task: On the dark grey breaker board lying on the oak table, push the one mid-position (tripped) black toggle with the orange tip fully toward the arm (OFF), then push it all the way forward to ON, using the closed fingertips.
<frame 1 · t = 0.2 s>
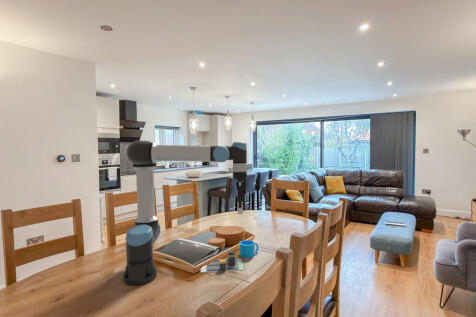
hand: (240, 210, 141), 27 cm above the table, fingers open, 13 cm apart
panel: (222, 267, 134), on the table
breaker tripped: (222, 264, 129), point 4 cm above the table, slide at 0.0 cm
mug: (249, 256, 148), on the table
breaker 2: (232, 259, 135), point 4 cm above the table, slide at 5.0 cm
breaker 3: (231, 255, 139), point 4 cm above the table, slide at 5.0 cm
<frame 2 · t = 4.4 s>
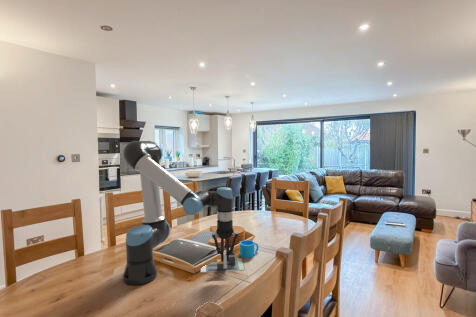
hand: (224, 266, 129), 3 cm above the table, fingers closed
breaker tripped: (220, 264, 129), point 4 cm above the table, slide at -1.1 cm, touching gripper
everything else where it was.
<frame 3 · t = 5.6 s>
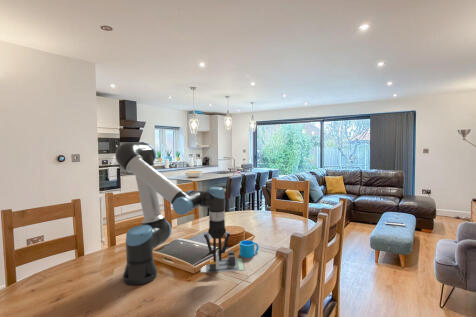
hand: (217, 266, 129), 3 cm above the table, fingers closed
breaker tripped: (212, 265, 128), point 4 cm above the table, slide at -4.8 cm, touching gripper
everything else where it was.
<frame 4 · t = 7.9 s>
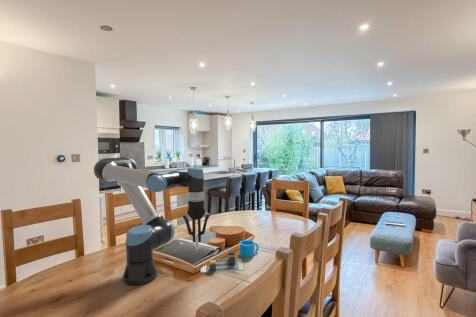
hand: (197, 248, 127), 13 cm above the table, fingers closed
breaker tripped: (212, 265, 128), point 4 cm above the table, slide at -4.8 cm
everything else where it was.
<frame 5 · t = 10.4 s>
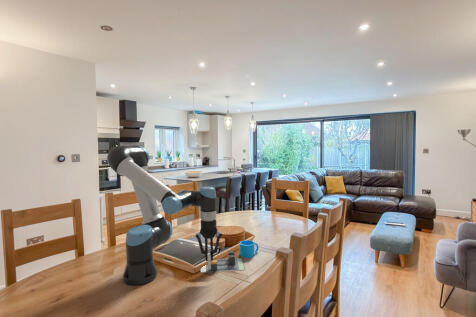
hand: (209, 267, 128), 3 cm above the table, fingers closed
breaker tripped: (214, 265, 129), point 4 cm above the table, slide at -4.2 cm, touching gripper
everything else where it was.
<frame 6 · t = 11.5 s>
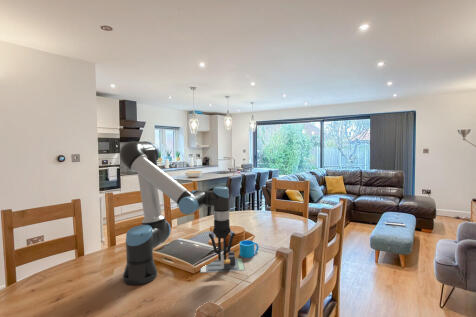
hand: (222, 266, 129), 3 cm above the table, fingers closed
breaker tripped: (226, 264, 129), point 4 cm above the table, slide at 2.1 cm, touching gripper
everything else where it was.
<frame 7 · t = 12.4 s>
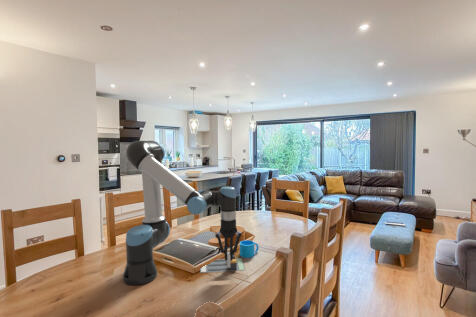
hand: (228, 266, 129), 3 cm above the table, fingers closed
breaker tripped: (233, 264, 130), point 4 cm above the table, slide at 5.2 cm, touching gripper
everything else where it was.
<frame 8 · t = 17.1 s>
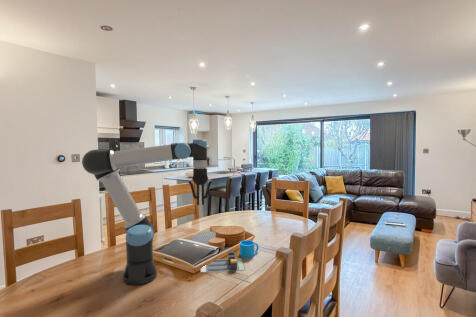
hand: (200, 210, 145), 26 cm above the table, fingers closed
breaker tripped: (233, 264, 130), point 4 cm above the table, slide at 5.4 cm
everything else where it was.
at the end: breaker tripped slide at 5.4 cm; breaker 2 slide at 5.0 cm; breaker 3 slide at 5.0 cm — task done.
